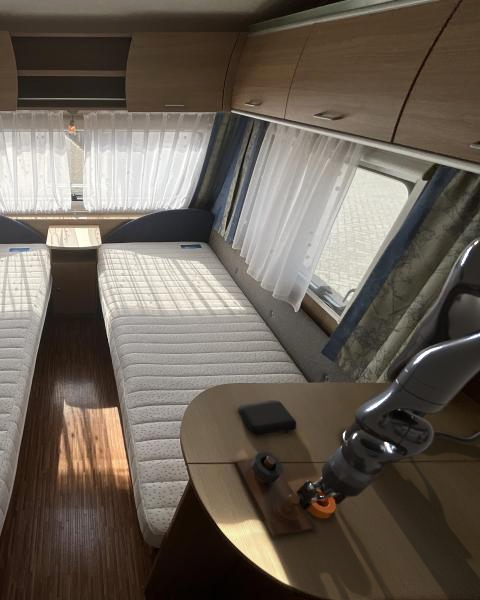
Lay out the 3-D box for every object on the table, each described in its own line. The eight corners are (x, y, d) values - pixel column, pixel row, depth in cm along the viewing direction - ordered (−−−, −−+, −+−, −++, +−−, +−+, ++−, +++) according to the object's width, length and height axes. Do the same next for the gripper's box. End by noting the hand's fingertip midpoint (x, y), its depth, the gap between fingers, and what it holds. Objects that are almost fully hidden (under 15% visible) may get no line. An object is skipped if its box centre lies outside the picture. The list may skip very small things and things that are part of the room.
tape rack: (268, 459, 91) (279, 442, 86) (312, 530, 77) (327, 515, 72) (234, 464, 90) (243, 447, 85) (271, 537, 76) (285, 522, 71)
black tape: (268, 456, 88) (272, 450, 86) (283, 480, 83) (288, 474, 81) (246, 459, 87) (250, 453, 85) (260, 483, 82) (264, 477, 80)
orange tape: (318, 489, 85) (323, 483, 83) (336, 516, 80) (342, 510, 78) (295, 492, 84) (300, 487, 82) (312, 520, 79) (317, 514, 77)
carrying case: (254, 441, 95) (300, 433, 97) (257, 435, 93) (304, 427, 95) (233, 410, 104) (276, 403, 106) (236, 403, 102) (280, 396, 104)
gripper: (333, 492, 68) (302, 524, 78) (395, 482, 70) (357, 514, 79) (308, 456, 74) (282, 490, 84) (365, 448, 76) (333, 482, 85)
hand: (318, 502), depth 82 cm, fingers open, 8 cm apart
